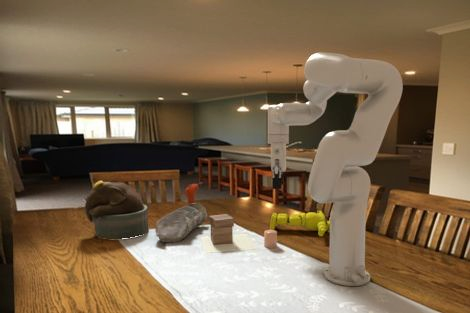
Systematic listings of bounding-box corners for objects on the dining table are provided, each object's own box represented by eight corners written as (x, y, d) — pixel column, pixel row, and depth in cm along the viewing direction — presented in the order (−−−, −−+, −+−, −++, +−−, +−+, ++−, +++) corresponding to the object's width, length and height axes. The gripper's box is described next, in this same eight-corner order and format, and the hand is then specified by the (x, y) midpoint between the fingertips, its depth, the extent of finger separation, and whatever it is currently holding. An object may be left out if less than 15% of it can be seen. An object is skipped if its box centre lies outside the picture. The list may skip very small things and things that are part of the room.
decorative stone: (178, 222, 165) (177, 200, 164) (210, 224, 161) (210, 201, 160) (145, 245, 133) (144, 218, 132) (185, 248, 130) (184, 220, 129)
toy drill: (207, 204, 193) (206, 177, 190) (193, 217, 176) (191, 187, 173) (199, 204, 195) (197, 176, 192) (183, 216, 177) (181, 187, 174)
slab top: (233, 226, 132) (233, 218, 132) (215, 228, 129) (215, 220, 129) (226, 221, 138) (226, 214, 138) (209, 223, 136) (208, 215, 135)
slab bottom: (232, 243, 132) (232, 235, 131) (213, 244, 130) (213, 236, 130) (229, 237, 138) (229, 230, 138) (210, 239, 137) (210, 231, 137)
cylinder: (278, 250, 127) (278, 233, 126) (266, 250, 126) (266, 233, 126) (274, 245, 131) (274, 229, 131) (262, 246, 130) (262, 230, 130)
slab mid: (232, 235, 131) (232, 227, 131) (213, 236, 130) (213, 228, 130) (229, 230, 138) (229, 222, 138) (210, 231, 137) (210, 223, 137)
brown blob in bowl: (72, 237, 143) (69, 182, 141) (119, 222, 165) (118, 174, 163) (115, 246, 132) (112, 186, 130) (159, 228, 154) (158, 177, 152)
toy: (266, 240, 138) (348, 252, 132) (268, 216, 137) (351, 227, 131) (273, 220, 167) (342, 229, 161) (275, 200, 166) (344, 208, 160)
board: (258, 251, 126) (258, 248, 126) (205, 255, 122) (205, 252, 122) (246, 235, 143) (246, 233, 143) (200, 238, 140) (200, 236, 140)
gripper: (287, 140, 123) (287, 191, 124) (289, 138, 140) (289, 183, 141) (265, 140, 124) (265, 190, 126) (270, 138, 141) (269, 182, 143)
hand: (277, 186), depth 133 cm, fingers open, 9 cm apart
